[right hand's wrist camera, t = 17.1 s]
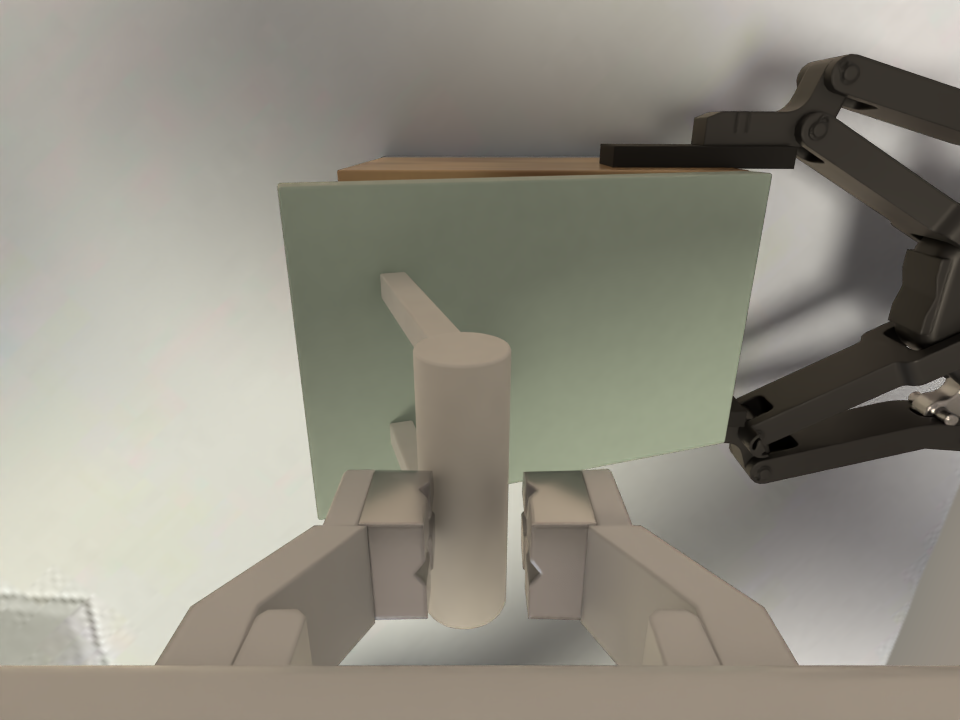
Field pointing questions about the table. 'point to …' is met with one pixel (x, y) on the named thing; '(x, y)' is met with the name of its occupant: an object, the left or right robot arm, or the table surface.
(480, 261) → the lid
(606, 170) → the chest
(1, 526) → the table surface
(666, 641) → the right robot arm
